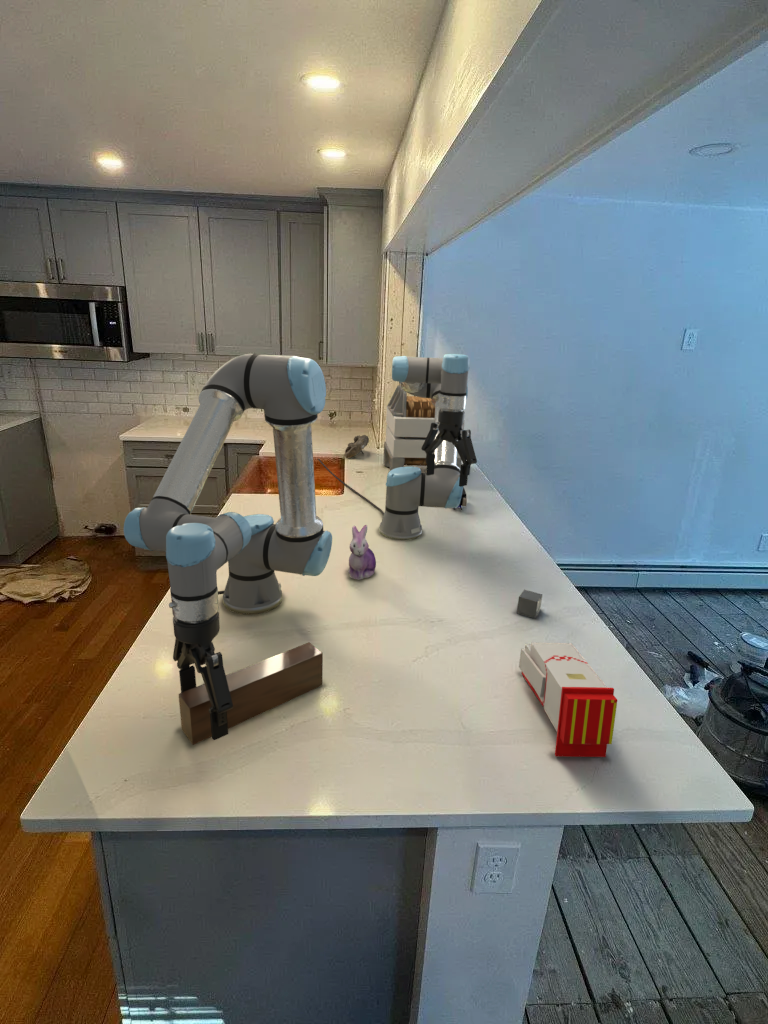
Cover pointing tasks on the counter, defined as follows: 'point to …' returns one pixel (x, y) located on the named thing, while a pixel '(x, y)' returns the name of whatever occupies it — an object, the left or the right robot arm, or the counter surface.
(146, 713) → the counter surface
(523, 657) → the toy
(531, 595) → the slate cube
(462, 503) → the figurine character
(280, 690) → the walnut bar
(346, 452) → the fossil
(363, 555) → the figurine
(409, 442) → the grey wooden crate
